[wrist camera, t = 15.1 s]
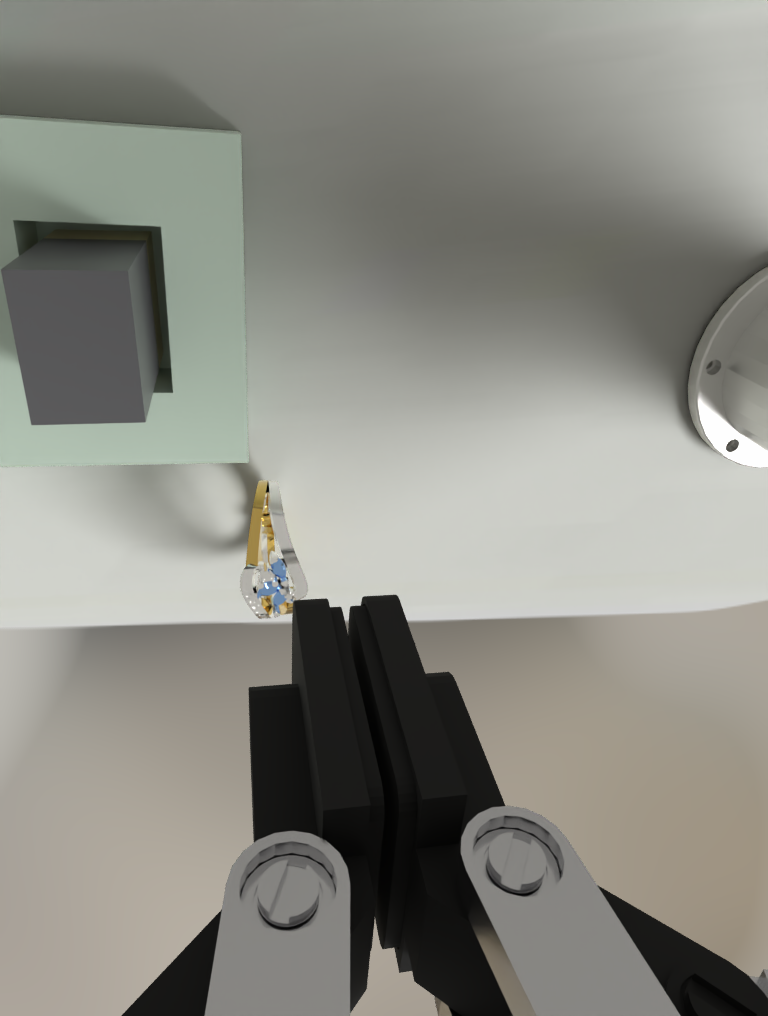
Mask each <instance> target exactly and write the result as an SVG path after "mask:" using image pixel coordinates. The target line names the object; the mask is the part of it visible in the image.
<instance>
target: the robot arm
mask: <svg viewBox="0 0 768 1016" xmlns="http://www.w3.org/2000/svg"><path fill="white" fill-rule="evenodd" d="M688 404H689V410H690V413H691V417H692V421H693V424H694V425H695V427H696V429H697V431H698V433H699V435H700V436H701V438H702V439H703V440H704V441H705V442H706V443H707V444H708V445H709V446H710V447H711V448H712V449H713V450H715V451H716V452H718V453H719V454H720V455H722V456H723V457H725V458H727V459H729V460H731V461H733V462H735V463H738V464H740V465H746V466H751V467H768V267H766V268H764V269H763V270H761V271H759V272H757V273H756V274H755V275H753V276H752V277H751V278H750V279H749V280H747V281H746V282H745V283H744V284H742V285H741V286H740V287H739V288H738V289H737V290H736V291H735V292H734V293H733V294H732V295H731V296H730V297H729V298H728V299H727V300H726V301H725V303H724V304H723V305H722V306H721V307H720V309H719V310H718V311H717V313H716V314H715V316H714V317H713V319H712V320H711V322H710V323H709V324H708V326H707V328H706V330H705V332H704V334H703V336H702V338H701V340H700V342H699V344H698V346H697V349H696V352H695V355H694V358H693V361H692V364H691V368H690V375H689V382H688ZM348 630H349V631H348V633H347V629H346V625H345V620H344V616H343V612H342V608H341V607H330V606H329V602H328V599H310V600H294V601H293V618H292V684H286V685H274V686H261V687H249V716H250V717H249V718H250V751H251V780H252V807H253V834H254V843H253V844H252V845H251V846H249V847H248V848H247V849H245V850H244V851H243V852H242V853H241V855H240V856H239V857H238V859H237V860H236V862H235V863H234V864H233V866H232V868H231V871H230V874H229V877H228V880H227V883H226V888H225V895H224V901H223V906H222V910H221V911H220V912H219V913H218V914H217V915H216V916H215V917H214V918H213V919H212V921H211V922H210V923H209V924H208V925H207V926H206V927H205V928H204V929H203V930H202V931H201V932H200V933H199V934H198V935H197V936H196V937H195V938H194V940H193V941H192V942H191V943H190V944H189V945H188V946H187V947H186V948H185V949H184V950H183V951H182V952H181V953H180V954H179V955H178V957H177V958H176V959H175V960H174V961H173V962H172V963H171V964H170V965H169V966H168V967H167V968H166V969H165V970H164V971H163V972H162V973H161V974H160V976H159V977H158V978H157V979H156V980H155V981H154V982H153V983H152V984H151V985H150V986H149V987H148V988H147V989H146V990H145V991H144V993H143V994H142V995H141V996H140V997H139V998H138V999H137V1000H136V1001H135V1002H134V1003H133V1004H132V1005H131V1006H130V1007H129V1008H128V1009H127V1011H126V1012H125V1013H124V1014H123V1015H122V1016H350V1013H351V1011H352V1010H353V1008H354V1007H355V1005H356V1004H357V1002H358V1001H359V999H360V998H361V997H362V995H363V994H364V992H365V991H366V989H367V978H368V969H369V959H370V951H371V948H372V939H373V938H372V937H373V929H374V919H376V924H377V930H378V935H379V940H380V944H381V947H382V949H387V948H393V947H394V948H395V952H396V958H397V963H398V968H399V973H400V972H406V971H412V972H413V977H414V981H415V982H416V983H417V984H419V985H420V986H422V987H423V988H424V989H426V990H427V991H429V992H430V993H431V994H433V995H434V996H435V1004H436V1008H437V1012H438V1016H768V970H765V969H764V970H763V971H762V973H761V975H760V977H750V976H748V975H747V974H745V973H744V972H743V971H741V970H740V969H738V968H737V967H736V966H734V965H733V964H732V963H730V962H729V961H727V960H725V959H723V958H722V957H720V956H718V955H717V954H715V953H713V952H711V951H710V950H708V949H706V948H705V947H703V946H701V945H699V944H698V943H696V942H694V941H692V940H691V939H689V938H687V937H685V936H684V935H682V934H680V933H678V932H677V931H675V930H673V929H672V928H670V927H668V926H666V925H665V924H663V923H661V922H660V921H658V920H656V919H654V918H652V917H651V916H649V915H648V914H646V913H644V912H642V911H641V910H639V909H637V908H635V907H634V906H632V905H630V904H629V903H627V902H625V901H623V900H622V899H620V898H618V897H617V896H615V895H613V894H611V893H610V892H608V891H606V890H604V889H603V888H601V887H599V886H598V885H597V884H596V883H595V881H594V880H593V878H592V877H591V875H590V873H589V872H588V870H587V869H586V867H585V866H584V864H583V862H582V861H581V860H580V858H579V856H578V855H577V853H576V852H575V850H574V848H573V847H572V845H571V844H570V842H569V841H568V839H567V838H566V837H565V836H564V834H563V833H562V832H561V831H560V830H559V829H558V827H557V826H556V825H554V824H553V823H552V822H550V821H549V820H547V819H546V818H545V817H543V816H542V815H540V814H537V813H534V812H533V811H530V810H528V809H525V808H519V807H513V806H505V804H504V802H503V799H502V796H501V794H500V791H499V789H498V786H497V784H496V781H495V779H494V776H493V774H492V771H491V769H490V766H489V764H488V761H487V759H486V756H485V754H484V751H483V749H482V746H481V744H480V741H479V739H478V736H477V734H476V731H475V729H474V726H473V724H472V721H471V718H470V716H469V713H468V711H467V709H466V706H465V703H464V701H463V698H462V696H461V693H460V691H459V688H458V686H457V683H456V681H455V679H454V677H453V675H452V674H450V673H449V672H443V673H428V674H425V672H424V669H423V666H422V663H421V660H420V657H419V654H418V652H417V649H416V646H415V643H414V640H413V638H412V635H411V632H410V629H409V626H408V623H407V620H406V617H405V615H404V612H403V609H402V606H401V603H400V600H399V598H398V596H397V595H383V596H365V597H363V598H362V602H361V606H351V607H350V613H349V629H348Z"/></svg>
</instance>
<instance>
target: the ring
mask: <svg viewBox="0 0 768 1016" xmlns="http://www.w3.org/2000/svg"><path fill="white" fill-rule="evenodd" d="M274 536H275V539H276V543H277V546H278V549H279V551H280V554H281V557H282V558H281V557H280V556H278V555H277V553H276V552H275V548H274ZM286 568H287V570H288V573H289V575H290V577H291V580H292V583H293V587H289V582H288V574H287V570H286ZM257 572H260V575H258V585H256V584H255V580H254V577H255V574H256V573H257ZM240 588H241V592H242V595H243V597H244V599H245V601H246V603H247V604H248V606H249V607H250V608H251V610H252V611H253V612H254V614H255V615H256V616H257V617H258V618H259V619H267V618H273V614H274V617H275V618H276V617H278V616H280V615H285V614H293V601H294V600H300V599H302V598H304V597H305V596H306V595H307V592H308V585H307V581H306V578H305V575H304V573H303V570H302V568H301V566H300V563H299V561H298V559H297V556H296V554H295V551H294V548H293V546H292V543H291V540H290V536H289V533H288V529H287V525H286V521H285V517H284V512H283V506H282V500H281V493H280V487H279V483H278V481H268V480H259V482H258V485H257V489H256V494H255V499H254V504H253V510H252V516H251V522H250V530H249V538H248V547H247V558H246V567H245V569H244V570H243V572H242V574H241V578H240Z"/></svg>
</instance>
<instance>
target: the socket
mask: <svg viewBox="0 0 768 1016" xmlns="http://www.w3.org/2000/svg"><path fill="white" fill-rule="evenodd" d="M55 229H67V230H113V231H151V233H152V243H153V253H154V263H155V273H156V283H157V293H158V304H159V314H160V324H161V334H162V344H163V356H162V360H161V364H160V368H159V371H158V375H157V379H156V383H155V387H154V391H153V395H152V399H151V403H150V407H149V411H148V415H147V419H146V422H144V423H104V424H65V425H31V421H30V416H29V411H28V406H27V401H26V396H25V391H24V385H23V380H22V375H21V370H20V365H19V360H18V355H17V350H16V345H15V340H14V335H13V329H12V324H11V319H10V314H9V309H8V304H7V299H6V294H5V289H4V284H3V279H2V274H1V269H2V268H3V267H5V266H6V265H7V264H9V263H10V262H12V261H13V260H14V259H16V258H17V257H18V256H20V255H21V254H23V253H24V252H25V251H27V250H28V249H29V248H31V247H32V246H33V245H35V244H36V243H38V242H39V241H40V240H42V239H43V238H44V237H46V236H47V235H48V234H50V233H51V232H53V231H54V230H55ZM204 463H249V455H248V411H247V367H246V322H245V278H244V234H243V190H242V146H241V133H240V131H229V130H214V129H200V128H185V127H171V126H157V125H142V124H128V123H114V122H99V121H85V120H71V119H56V118H42V117H28V116H13V115H0V467H36V466H92V465H148V464H204Z"/></svg>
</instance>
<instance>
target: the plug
mask: <svg viewBox="0 0 768 1016" xmlns="http://www.w3.org/2000/svg"><path fill="white" fill-rule="evenodd" d="M1 274H2V279H3V284H4V289H5V294H6V299H7V304H8V309H9V314H10V319H11V324H12V329H13V335H14V340H15V345H16V350H17V355H18V360H19V365H20V370H21V375H22V380H23V385H24V391H25V396H26V401H27V406H28V411H29V416H30V421H31V425H65V424H104V423H144V422H146V419H147V415H148V411H149V407H150V403H151V399H152V395H153V391H154V387H155V383H156V379H157V375H158V371H159V368H160V364H161V360H162V356H163V344H162V334H161V324H160V314H159V304H158V293H157V283H156V273H155V263H154V253H153V243H152V233H151V231H113V230H67V229H55V230H54V231H53V232H51V233H50V234H48V235H47V236H46V237H44V238H43V239H42V240H40V241H39V242H38V243H36V244H35V245H33V246H32V247H31V248H29V249H28V250H27V251H25V252H24V253H23V254H21V255H20V256H18V257H17V258H16V259H14V260H13V261H12V262H10V263H9V264H7V265H6V266H5V267H3V268H2V269H1Z"/></svg>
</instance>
